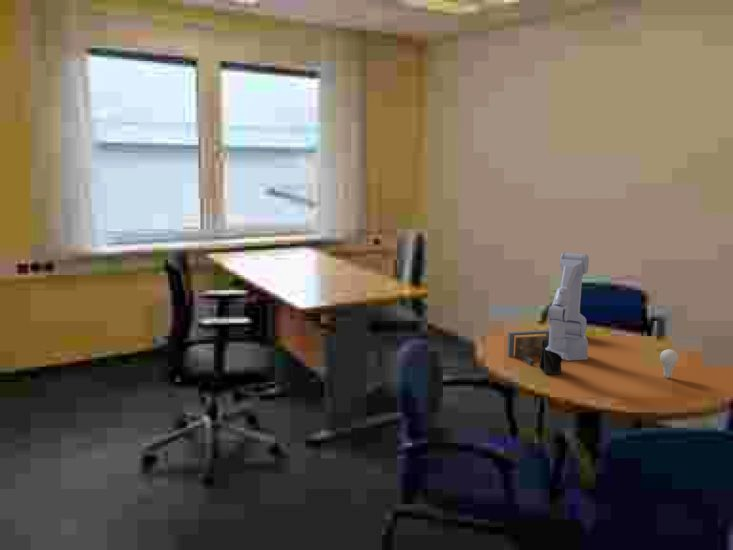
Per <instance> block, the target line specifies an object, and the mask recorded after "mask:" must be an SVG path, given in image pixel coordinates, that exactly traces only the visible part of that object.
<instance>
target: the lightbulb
mask: <svg viewBox="0 0 733 550" xmlns="http://www.w3.org/2000/svg"><path fill="white" fill-rule="evenodd" d="M659 358H660V359H659V360H660V363H661V364H662V368H663V376H664V378H666V379H669V378H671V377H672V374H673V371H674V368H675V366H676V365H677V363H678V361H679V355H678V352H676V351H675V350H673V349H669V348H668V349H665V350H663V351H661V353H660V355H659Z"/></svg>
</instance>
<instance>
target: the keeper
mask: <svg viewBox="0 0 733 550" xmlns="http://www.w3.org/2000/svg"><path fill="white" fill-rule="evenodd" d="M521 358H522V360H523V361H524V360H525V361H526V362H527V363H526V362H525V361H524V362H525V363H526V364H527V365H529V366H530V365H531V366H534V360H533V359H532V358H531V357H530V356H529V357H528V356H527V355H526V354H524V353H522V354H521V357H520V359H521Z"/></svg>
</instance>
